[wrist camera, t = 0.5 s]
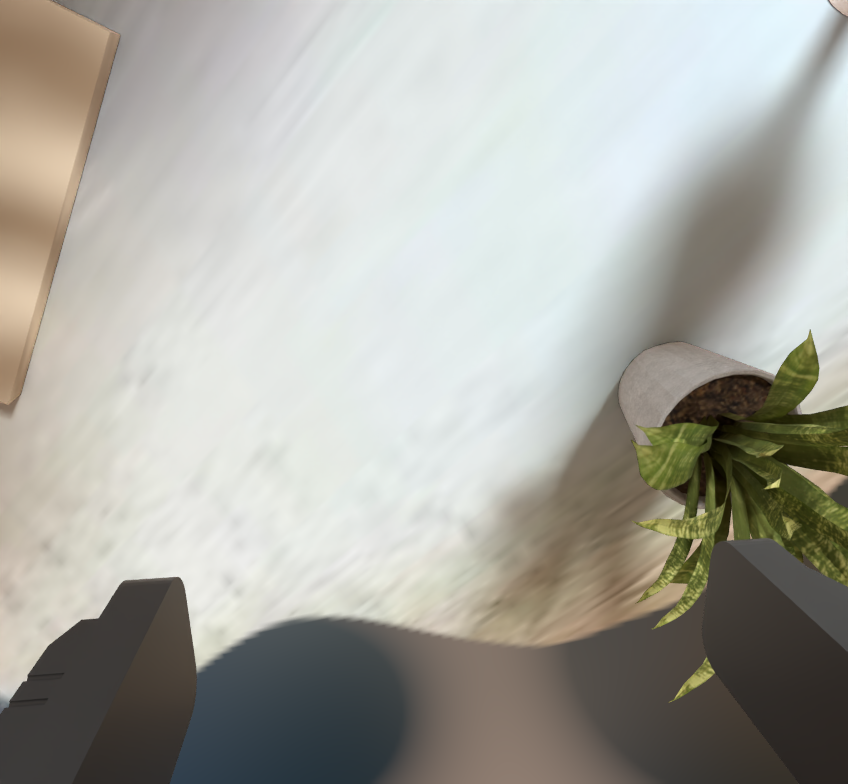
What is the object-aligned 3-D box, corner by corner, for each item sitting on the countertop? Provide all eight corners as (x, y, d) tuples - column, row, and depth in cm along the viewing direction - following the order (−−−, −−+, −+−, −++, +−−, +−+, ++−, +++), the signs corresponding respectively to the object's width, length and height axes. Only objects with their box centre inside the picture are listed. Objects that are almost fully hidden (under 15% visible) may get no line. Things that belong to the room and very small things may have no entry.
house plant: (483, 490, 36) (573, 764, 21) (545, 243, 30) (724, 376, 16) (716, 514, 38) (946, 776, 23) (812, 287, 33) (1190, 440, 18)
